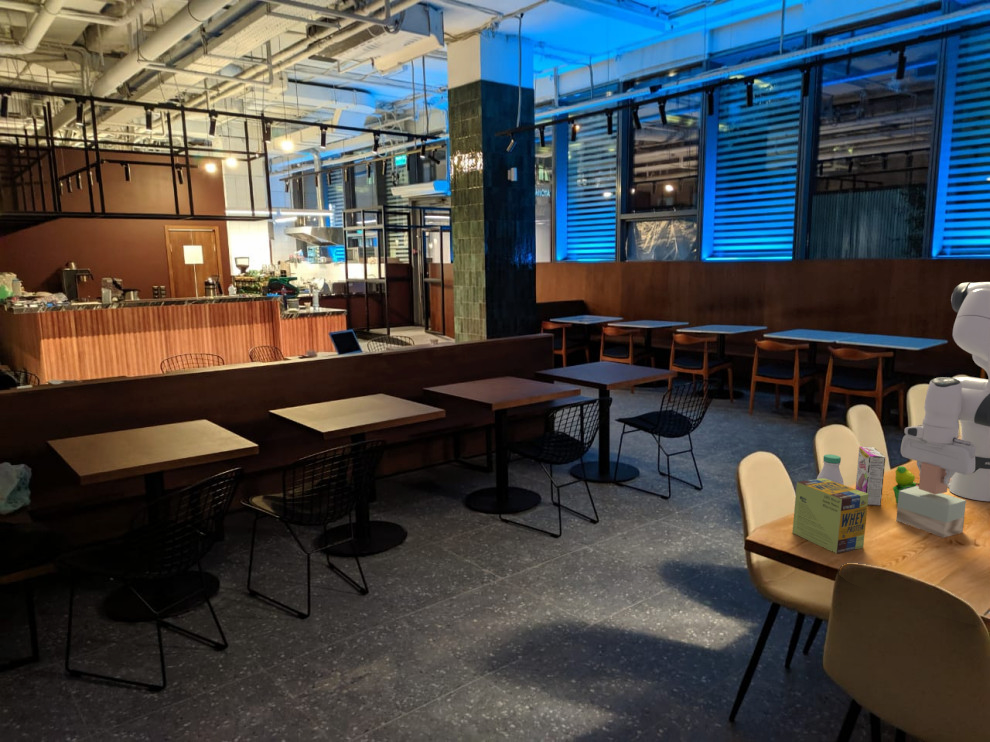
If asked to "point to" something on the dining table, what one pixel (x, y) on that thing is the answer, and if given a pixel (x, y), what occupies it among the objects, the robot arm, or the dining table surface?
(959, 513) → the tower top
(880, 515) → the dining table surface
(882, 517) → the dining table surface
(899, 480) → the green toy figure
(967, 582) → the dining table surface
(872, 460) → the candy bar box
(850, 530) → the protein box
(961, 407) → the robot arm
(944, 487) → the block
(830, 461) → the milk bottle
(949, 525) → the tower base
